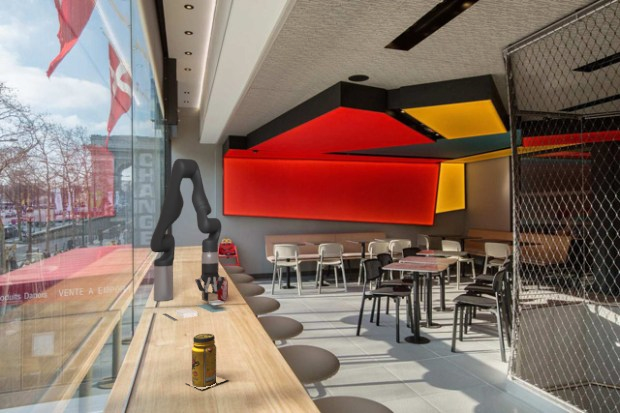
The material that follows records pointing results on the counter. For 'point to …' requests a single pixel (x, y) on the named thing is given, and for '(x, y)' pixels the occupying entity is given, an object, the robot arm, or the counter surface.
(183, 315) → the tile
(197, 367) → the condiment
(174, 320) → the mat
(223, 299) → the soda can
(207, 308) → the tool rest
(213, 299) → the brown long block
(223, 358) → the counter surface
